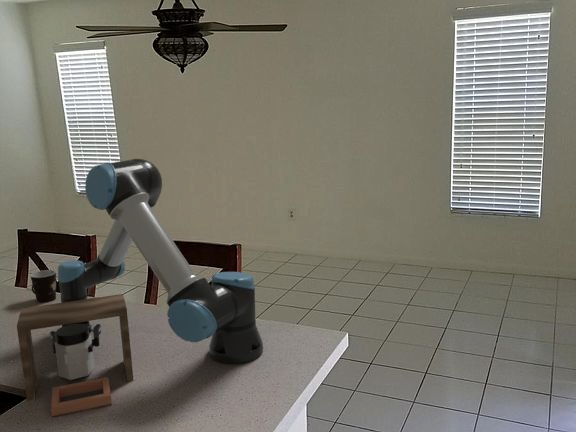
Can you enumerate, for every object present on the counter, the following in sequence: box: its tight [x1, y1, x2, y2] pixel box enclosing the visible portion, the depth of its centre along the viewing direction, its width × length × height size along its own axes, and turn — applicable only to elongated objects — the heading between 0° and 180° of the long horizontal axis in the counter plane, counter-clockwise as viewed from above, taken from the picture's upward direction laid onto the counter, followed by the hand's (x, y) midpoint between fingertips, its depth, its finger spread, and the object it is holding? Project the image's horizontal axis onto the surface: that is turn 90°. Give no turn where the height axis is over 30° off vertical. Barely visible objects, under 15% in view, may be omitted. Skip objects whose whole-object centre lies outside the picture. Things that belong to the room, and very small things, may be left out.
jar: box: [55, 324, 95, 381], centre depth 143 cm, size 9×8×12 cm
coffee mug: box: [29, 269, 57, 304], centre depth 198 cm, size 12×9×10 cm
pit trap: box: [50, 376, 112, 418], centre depth 132 cm, size 10×13×2 cm
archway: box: [16, 293, 134, 402], centre depth 140 cm, size 12×25×20 cm, turn 111°
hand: (76, 357), depth 138 cm, fingers closed on jar, 4 cm apart
